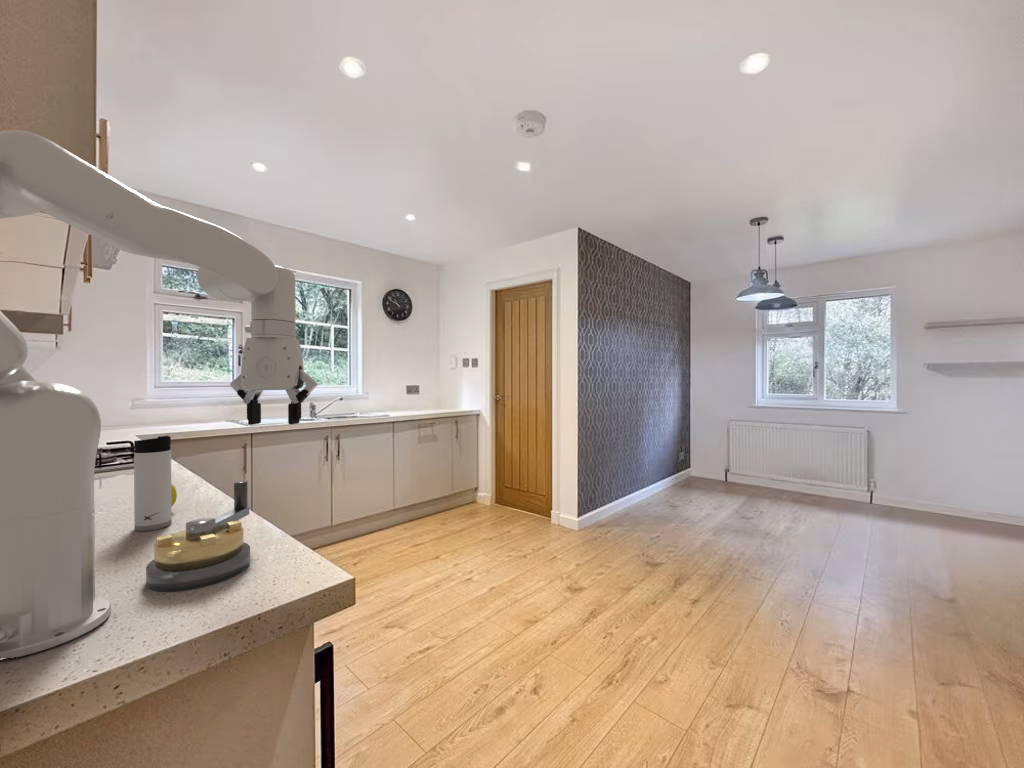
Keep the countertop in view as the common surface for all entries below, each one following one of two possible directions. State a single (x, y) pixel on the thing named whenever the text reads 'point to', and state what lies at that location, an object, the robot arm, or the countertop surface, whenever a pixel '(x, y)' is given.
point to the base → (196, 574)
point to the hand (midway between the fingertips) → (274, 423)
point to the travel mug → (152, 483)
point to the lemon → (173, 494)
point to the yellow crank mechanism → (205, 538)
